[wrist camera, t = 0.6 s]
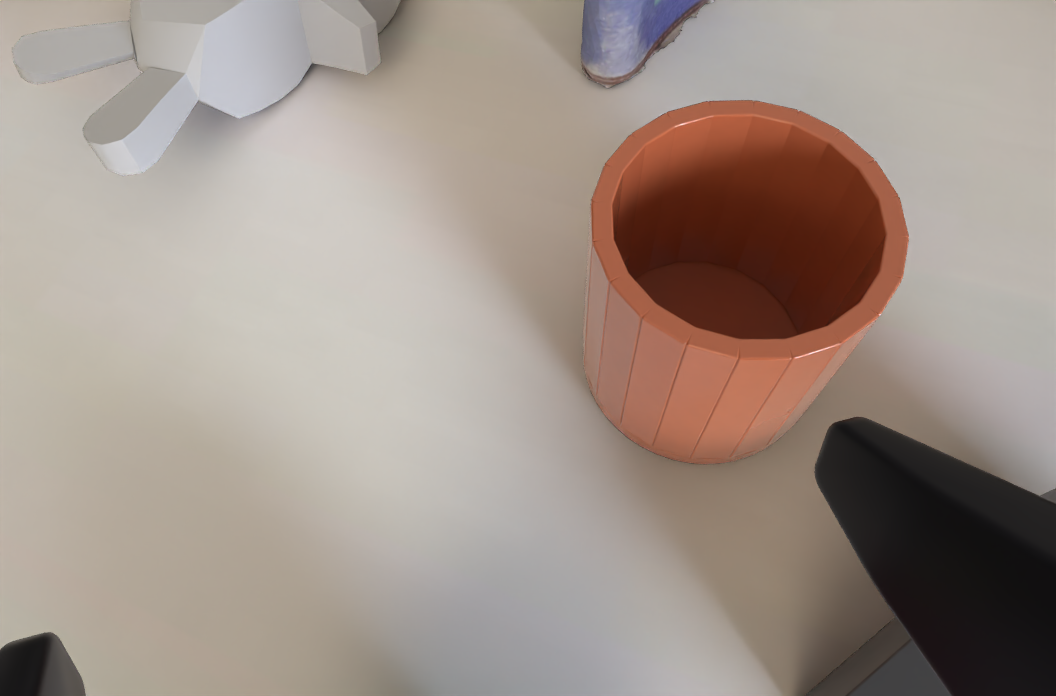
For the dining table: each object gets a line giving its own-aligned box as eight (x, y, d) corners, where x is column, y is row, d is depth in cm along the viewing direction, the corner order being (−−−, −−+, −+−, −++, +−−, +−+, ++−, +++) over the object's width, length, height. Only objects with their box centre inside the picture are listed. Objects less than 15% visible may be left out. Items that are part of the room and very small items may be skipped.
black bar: (1219, 683, 22) (1350, 675, 18) (971, 937, 20) (1065, 985, 16) (1030, 499, 24) (1113, 460, 21) (791, 707, 22) (836, 703, 18)
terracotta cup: (861, 377, 26) (976, 244, 19) (683, 511, 24) (735, 422, 17) (707, 222, 29) (756, 56, 22) (538, 333, 27) (530, 193, 20)
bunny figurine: (457, -56, 30) (94, 132, 24) (461, 54, 34) (153, 235, 29) (308, -161, 33) (-45, -16, 27) (329, -47, 38) (28, 98, 32)
